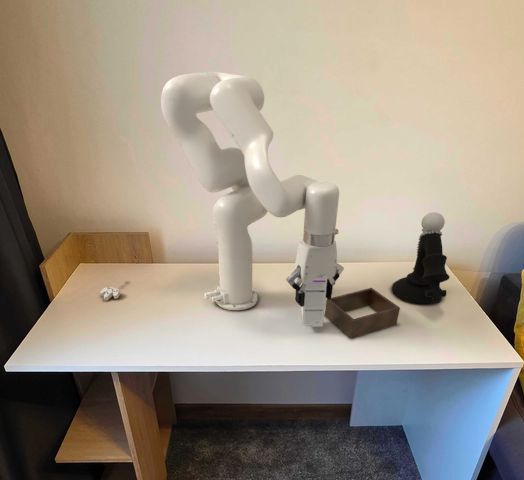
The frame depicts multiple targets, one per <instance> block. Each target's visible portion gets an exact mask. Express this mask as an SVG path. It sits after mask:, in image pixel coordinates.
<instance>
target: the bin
mask: <svg viewBox="0 0 524 480" xmlns="http://www.w3.org/2000/svg"><path fill="white" fill-rule="evenodd" d="M364 307H369V308H371V309H373V310H374V311H375V312H374V313H370V314H367V315H362V316H359V317H356V318H353V317H352V316H351V315H349V313H347V312H350V311H353V310H357V309H361V308H364ZM400 310H401V307H400V306H398V305H397V304H395V303H394V302H393V301H391V300H390V299H388V298H387V297H386V296H385V295H383V294H381V293H380V292H379V291H377V290H376V289H375V288H373V287H369V288H365V289H364V288H363V289H360V290H356V291H353V292H348V293H345V294H341V295H337V296H333V297H332V296H331V299H330V300H329V299H327V298H326V300H325V311H324V317H326V318H327V319H328V320H329V321H330V322H331V323H332V324H334V326H336V327H337V328H338V329H339V330H340V331H341V332H342V333H343V334H345V335H346V336H347V337H348V338H349V339H353V338H356V337H360V336H363V335H367V334H370V333H372V332H373V333H374V332H377V331H380V330H383V329H386V328H391V327H394V326H397V324H398V319H399V315H400Z"/></svg>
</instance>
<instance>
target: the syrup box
mask: <svg viewBox="0 0 524 480" xmlns="http://www.w3.org/2000/svg"><path fill="white" fill-rule="evenodd" d="M326 287H327V276H319V277H315V279H314V280H313V281H312V283H309V284H306V288H305V289H304V291H303V292H304V293H305V301H304V306H303V307H301V315H300V316H301V324H302V326H303V327H324V320H325V309H326V300H327V298H326Z"/></svg>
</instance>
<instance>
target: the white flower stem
mask: <svg viewBox="0 0 524 480" xmlns="http://www.w3.org/2000/svg"><path fill="white" fill-rule="evenodd" d="M125 283H126V281H124V282H123V284H122V285H117V286H116V287H110V286H106V287H104V288H102V289H101V290H100V291H99V293H100V296H101V297H103V300H104V301H105V302H106V301H108V300H110V299H111V298H112V297H113V299H116V300H117V299H118V298H119V297H120V295H121V292H120V289H118V288H117V287H122V286H124V284H125Z"/></svg>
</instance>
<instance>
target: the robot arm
mask: <svg viewBox="0 0 524 480" xmlns="http://www.w3.org/2000/svg"><path fill="white" fill-rule="evenodd" d="M264 104H265V93H264V90H263V87H262V85H261V84H260V83H259V81H257V80H256V79H255V78H253V77H252V76H248V75H239V74H234V73H226V72H221V71H201V72H194V73H185V74H180V75H176V76H174V77H172V78H170V79H169V80H167V82H166V83H165V84H164V86H163V88H162V92H161V95H160V105H161V106H160V107H161V112H162V116H163V120H164V121H165V123H166V125H167V127H168V129H169V130H170V132H171V134H172V135H173V136H174V138H175V140H176V141H177V142H178V144H179V145H180V147H181V148H182V151H183V152H184V154H185V157H186V158H187V160H188V162H189V165H191V168H192V170H193V171H194V173H195V175H196V177H197V179H198V181H199V182H200V185H202V187H203V188H204V190H206V191H207V192H208V193H219V192H221V191H225V190H227V189H230V188H231V189H232V191H231V192H228V193H226V194H224V195H222V196H221V197H219V198H218V199H217V200H216V202H215V203H214V205H213V207H212V219H213V224H214V228H215V231H216V240H217V253H218V255H217V256H218V272H219V285H216V289H214V290H213V291H207V292H204V293H203V295H204V299H205V300H210V299H211V302H215V304H216V305H217V306H219V307H220V308H222V309H225V310H228V311H244V310H248V309H251V308H252V307H254V306H256V304H257V303H258V294H257V293H256V291H254V290H253V241H252V237H251V235H250V233H249V230H248V227H249V226H250V225H252V224H254V223H255V222H257V221H260V220H262V219H263V218H264V217H266V215H267V214H268V213H269V214H270V215H271V216H273V217H275V218H281V219H282V218H287V217H288V216H290V215H292V214H294V213H295V212H297V211H300V210H304V217H303V218H304V219H303V233H302V236H303V237H302V240H301V241H300V242H299V244H298V246H297V251H296V255H295V261H294V270H293V271H292V272H291V273H290V274H289V275H288V276H287V277H286V278H285V279H286V282H287V283H288V284H289V286H290V287H292V288H293V289H294V290H295V297H294V298H295V299H294V300H295V302H296V303H297V304H298V305H299V306H300V307H301V308H302V307H303V306H304V301H305V293H304V292H303V291H304V289H305V288H306V284H309V283H312V281H313V280H314V279H315V277H319V276H327V287H326V300H327V299H329V300H330V299H331V298H332V294H333V286H335V285H336V282H337V280H338V279H339V278H340V275H341V274H342V272H343V271H344V270H345V268H344V266H342V264H339V263H338V247H337V242H336V240H335V238H336V235H338V234H339V229H338V228H337V220H338V219H337V217H338V208H339V199H340V189H339V187H338V186H337V185H336V184H335V183H332V182H328V181H318V180H315V179H313V178H311V177H309V176H307V175H304V174H303V175H302V174H297V175H293V176H291V177H288V178H286V179H284V180H280V179H279V178H278V176H277V174H275V172H274V170H273V168H272V166H271V164H270V160H269V155H268V153H269V152H268V151H269V147H270V144H271V143H272V141H273V139H274V131H273V129H272V127H271V126H270V124H269V123H268V122H267V120H266V118H265V117H264V116H263V115H262V113H261V110H262V109H263V108H264ZM210 111H211V112H212V111H213V112H214V113H215V115H216V117H217V118H218V120H219V121H220V123H221V124H222V126H223V127H224V128H225V130H226V131H227V133H228V134H229V135H230V137H231V138H232V140H233V141H234V143H235V144H236V145H237V147H234V146H231V147H225V148H221V147H220V145H219V144H218V142H217V140H216V138H215V137H214V134H213V132H212V131H211V129H210V128H209V127H208V126H207V124H205V123H204V122H203V121H202V120H201V119H200V118H199V117H198V116H197V114H203V113H207V112H210ZM296 279H297V280H296Z"/></svg>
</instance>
